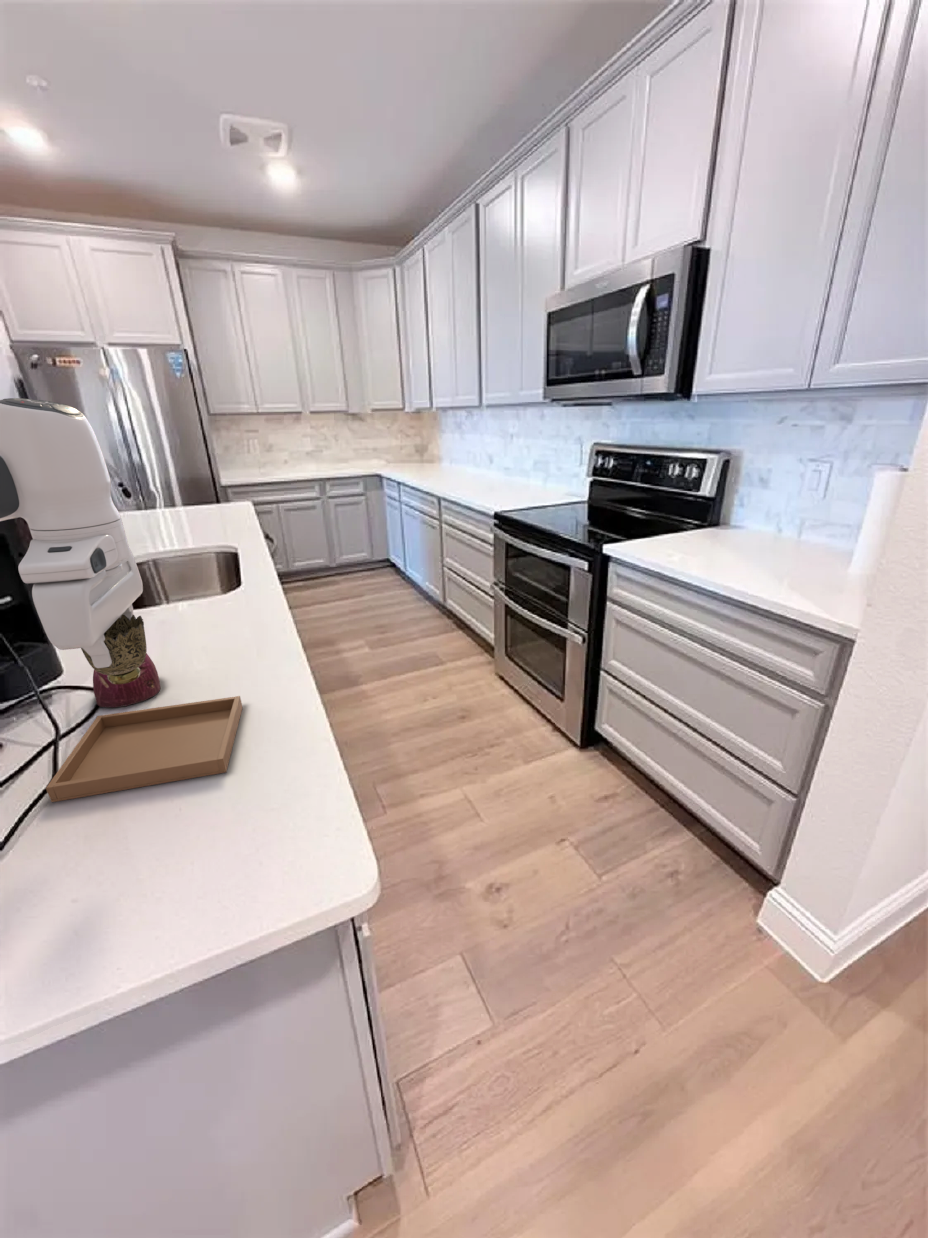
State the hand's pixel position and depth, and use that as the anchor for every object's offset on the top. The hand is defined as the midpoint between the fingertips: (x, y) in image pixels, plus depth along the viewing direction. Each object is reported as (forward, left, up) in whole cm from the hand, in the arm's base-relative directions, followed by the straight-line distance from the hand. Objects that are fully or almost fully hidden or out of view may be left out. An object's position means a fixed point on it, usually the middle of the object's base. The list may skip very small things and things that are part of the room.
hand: (116, 650), depth 66 cm
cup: (0, 0, -4) cm, 5 cm away
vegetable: (-10, +25, -19) cm, 33 cm away
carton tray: (0, +5, -19) cm, 20 cm away
